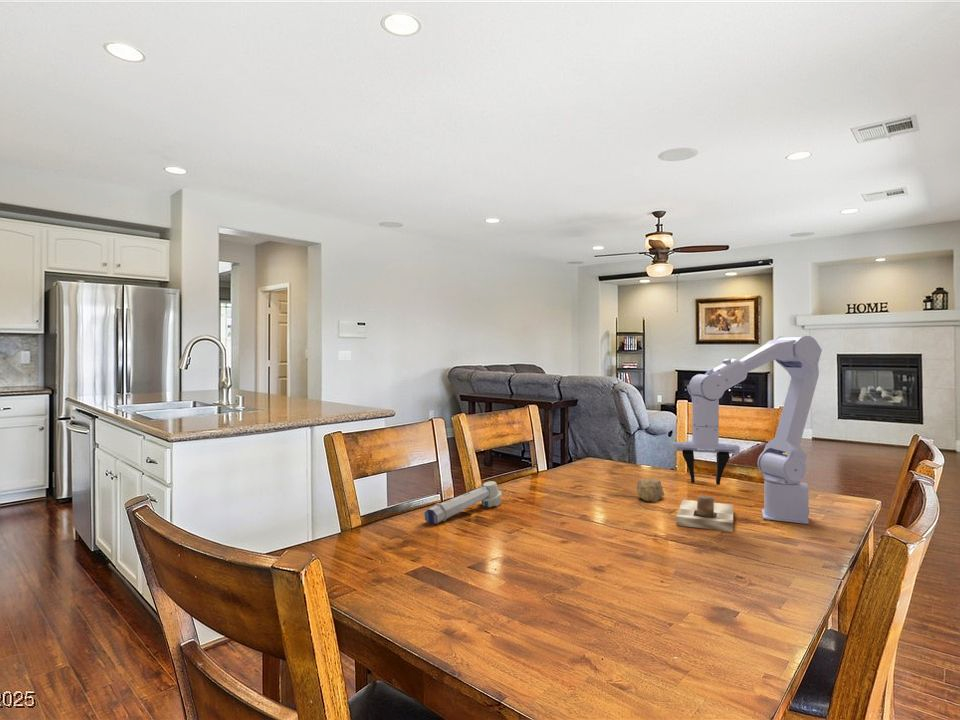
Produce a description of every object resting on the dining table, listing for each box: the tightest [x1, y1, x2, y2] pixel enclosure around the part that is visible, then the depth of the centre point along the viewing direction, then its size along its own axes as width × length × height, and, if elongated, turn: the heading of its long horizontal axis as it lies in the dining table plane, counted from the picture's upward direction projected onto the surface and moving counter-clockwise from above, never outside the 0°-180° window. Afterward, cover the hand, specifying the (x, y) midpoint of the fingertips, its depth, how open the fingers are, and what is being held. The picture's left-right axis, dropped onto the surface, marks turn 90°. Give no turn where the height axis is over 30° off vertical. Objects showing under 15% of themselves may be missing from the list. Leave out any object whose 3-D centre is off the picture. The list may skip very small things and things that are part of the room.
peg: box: [696, 494, 715, 518], centre depth 131 cm, size 4×4×6 cm
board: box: [675, 499, 734, 533], centre depth 134 cm, size 12×16×2 cm
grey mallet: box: [423, 480, 503, 526], centre depth 140 cm, size 5×7×25 cm
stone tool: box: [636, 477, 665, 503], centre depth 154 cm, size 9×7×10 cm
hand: (705, 483), depth 131 cm, fingers open, 5 cm apart
